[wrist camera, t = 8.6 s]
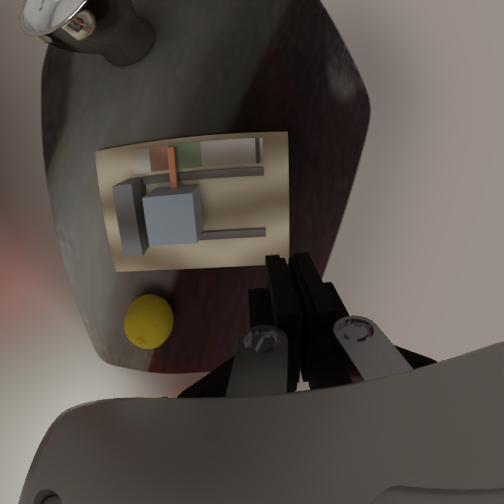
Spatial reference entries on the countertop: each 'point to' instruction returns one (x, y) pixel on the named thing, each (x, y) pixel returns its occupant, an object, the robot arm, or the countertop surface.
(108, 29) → the grey metal cup
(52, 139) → the countertop surface
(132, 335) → the lemon
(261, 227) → the gauge board
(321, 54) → the countertop surface
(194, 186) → the slider block with pointer
